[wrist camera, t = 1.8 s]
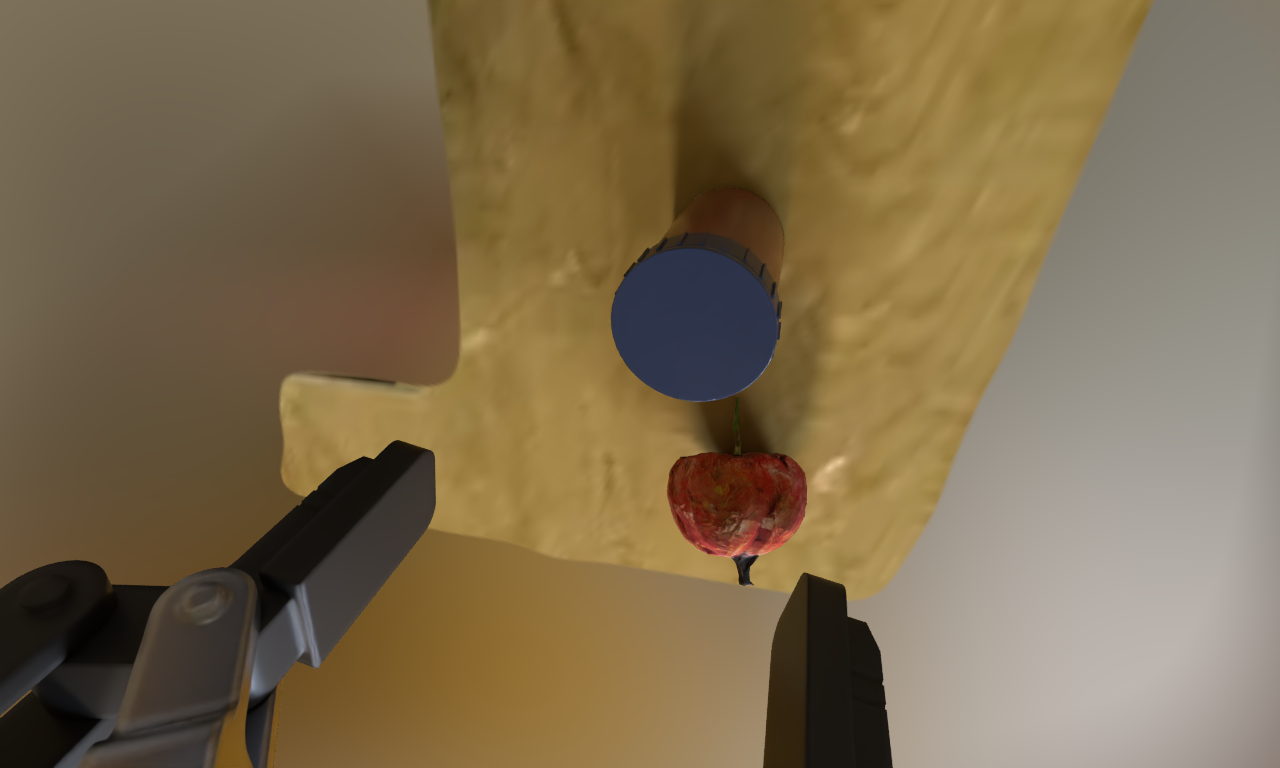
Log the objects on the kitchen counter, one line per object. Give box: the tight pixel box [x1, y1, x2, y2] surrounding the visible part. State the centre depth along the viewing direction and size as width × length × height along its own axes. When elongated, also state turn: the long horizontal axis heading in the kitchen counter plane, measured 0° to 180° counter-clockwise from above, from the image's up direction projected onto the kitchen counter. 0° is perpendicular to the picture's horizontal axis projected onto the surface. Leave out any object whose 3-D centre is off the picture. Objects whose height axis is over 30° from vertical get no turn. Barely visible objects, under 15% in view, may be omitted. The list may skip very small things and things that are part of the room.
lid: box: [611, 231, 782, 402], centre depth 21 cm, size 6×6×2 cm
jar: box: [659, 187, 784, 291], centre depth 24 cm, size 5×5×10 cm
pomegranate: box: [667, 397, 807, 586], centre depth 32 cm, size 7×7×10 cm
